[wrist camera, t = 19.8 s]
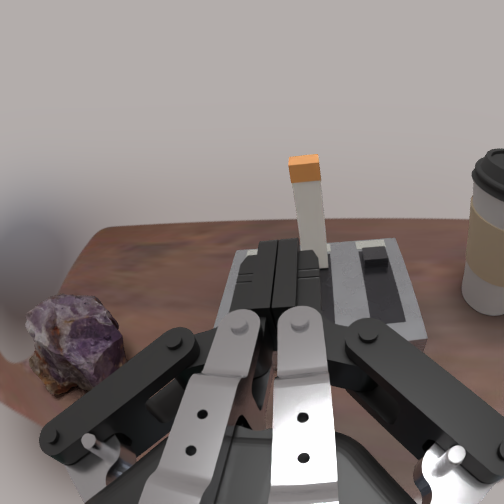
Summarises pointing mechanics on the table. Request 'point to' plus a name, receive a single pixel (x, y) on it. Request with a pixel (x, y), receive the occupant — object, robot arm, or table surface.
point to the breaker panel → (357, 288)
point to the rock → (74, 342)
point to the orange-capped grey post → (309, 204)
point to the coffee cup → (486, 237)
